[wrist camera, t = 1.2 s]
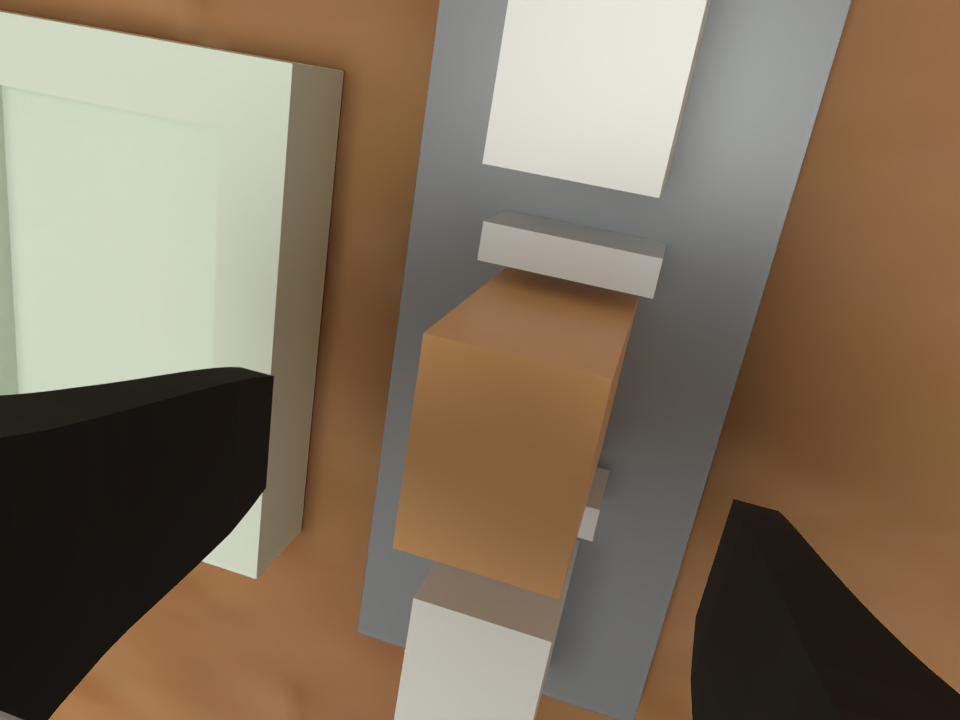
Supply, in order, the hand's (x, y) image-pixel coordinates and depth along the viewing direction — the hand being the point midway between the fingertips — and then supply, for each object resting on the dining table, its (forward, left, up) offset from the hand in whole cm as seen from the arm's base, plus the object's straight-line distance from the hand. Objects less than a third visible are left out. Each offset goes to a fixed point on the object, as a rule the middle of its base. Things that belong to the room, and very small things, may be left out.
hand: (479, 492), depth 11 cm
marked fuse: (0, 0, -7) cm, 7 cm away
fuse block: (0, 0, -8) cm, 8 cm away
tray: (-1, +12, -8) cm, 14 cm away
